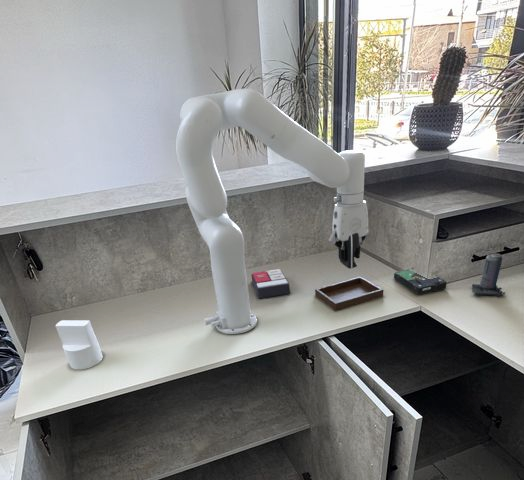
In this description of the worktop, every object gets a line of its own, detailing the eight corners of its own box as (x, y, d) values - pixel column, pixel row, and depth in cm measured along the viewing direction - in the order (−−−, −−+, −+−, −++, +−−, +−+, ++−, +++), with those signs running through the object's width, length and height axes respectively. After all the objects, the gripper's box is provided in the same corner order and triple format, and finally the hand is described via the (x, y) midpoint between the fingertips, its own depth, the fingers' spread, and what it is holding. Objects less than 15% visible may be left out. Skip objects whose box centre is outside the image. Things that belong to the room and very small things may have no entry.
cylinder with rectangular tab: (108, 351, 126) (95, 315, 119) (93, 369, 118) (79, 331, 112) (80, 351, 127) (66, 315, 121) (63, 369, 120) (48, 331, 113)
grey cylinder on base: (495, 286, 138) (502, 249, 132) (505, 296, 132) (514, 258, 125) (465, 288, 139) (471, 252, 132) (475, 298, 132) (482, 261, 126)
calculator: (280, 267, 157) (289, 281, 144) (281, 278, 160) (290, 293, 147) (250, 272, 156) (256, 286, 143) (252, 283, 159) (258, 298, 146)
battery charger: (360, 267, 133) (360, 230, 127) (349, 270, 132) (348, 233, 126) (350, 259, 139) (350, 224, 133) (339, 262, 138) (338, 226, 132)
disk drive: (446, 289, 139) (419, 273, 151) (447, 281, 138) (420, 265, 150) (418, 296, 137) (392, 278, 149) (419, 288, 136) (393, 271, 148)
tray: (335, 311, 134) (335, 303, 132) (315, 296, 144) (315, 289, 142) (383, 296, 139) (383, 289, 137) (360, 283, 149) (360, 276, 147)
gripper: (331, 206, 119) (332, 269, 129) (382, 195, 124) (379, 256, 134) (318, 201, 125) (319, 261, 135) (367, 190, 130) (365, 249, 140)
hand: (349, 258), depth 134 cm, fingers closed on battery charger, 4 cm apart
